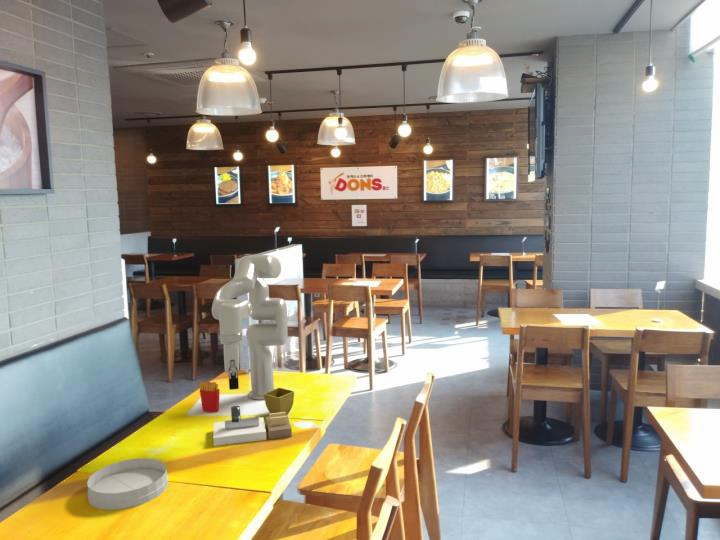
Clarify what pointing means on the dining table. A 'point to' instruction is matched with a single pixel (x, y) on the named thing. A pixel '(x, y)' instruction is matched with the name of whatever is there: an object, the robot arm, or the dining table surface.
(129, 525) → the dining table surface
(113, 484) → the dish
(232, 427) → the bolt
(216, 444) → the slide latch panel
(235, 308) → the robot arm
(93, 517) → the dining table surface
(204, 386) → the french fries
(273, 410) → the flower pot
